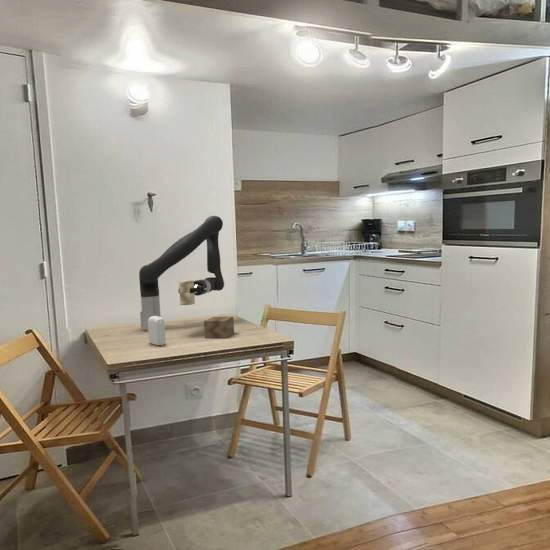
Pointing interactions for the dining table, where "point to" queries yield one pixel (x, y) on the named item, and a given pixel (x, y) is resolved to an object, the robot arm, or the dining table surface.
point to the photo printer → (156, 330)
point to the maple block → (186, 293)
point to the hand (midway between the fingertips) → (184, 291)
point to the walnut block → (218, 327)
